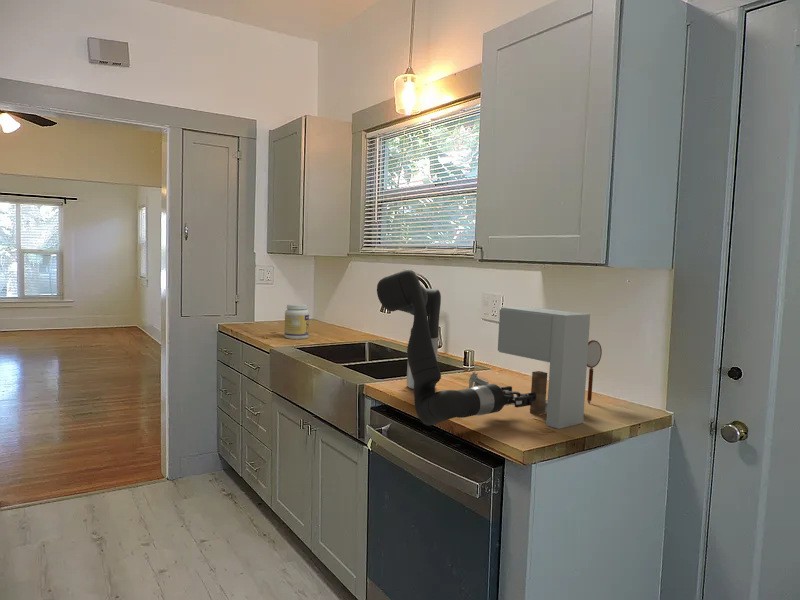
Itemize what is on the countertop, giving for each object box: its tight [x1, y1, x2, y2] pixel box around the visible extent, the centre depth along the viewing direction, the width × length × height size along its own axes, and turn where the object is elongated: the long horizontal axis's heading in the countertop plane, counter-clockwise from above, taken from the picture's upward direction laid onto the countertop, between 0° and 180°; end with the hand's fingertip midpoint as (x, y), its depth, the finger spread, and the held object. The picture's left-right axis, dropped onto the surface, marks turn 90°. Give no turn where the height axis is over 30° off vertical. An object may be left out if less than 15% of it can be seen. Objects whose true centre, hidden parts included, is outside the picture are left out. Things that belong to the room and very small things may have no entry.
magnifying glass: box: [586, 339, 603, 404], centre depth 180 cm, size 9×2×20 cm, turn 125°
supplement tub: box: [284, 303, 310, 340], centre depth 294 cm, size 12×12×17 cm
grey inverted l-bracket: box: [497, 306, 591, 430], centre depth 163 cm, size 22×12×30 cm, turn 38°
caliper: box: [468, 371, 516, 399], centre depth 187 cm, size 20×1×6 cm, turn 43°
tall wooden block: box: [529, 370, 548, 416], centre depth 168 cm, size 3×8×12 cm, turn 128°
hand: (522, 392), depth 162 cm, fingers open, 8 cm apart
